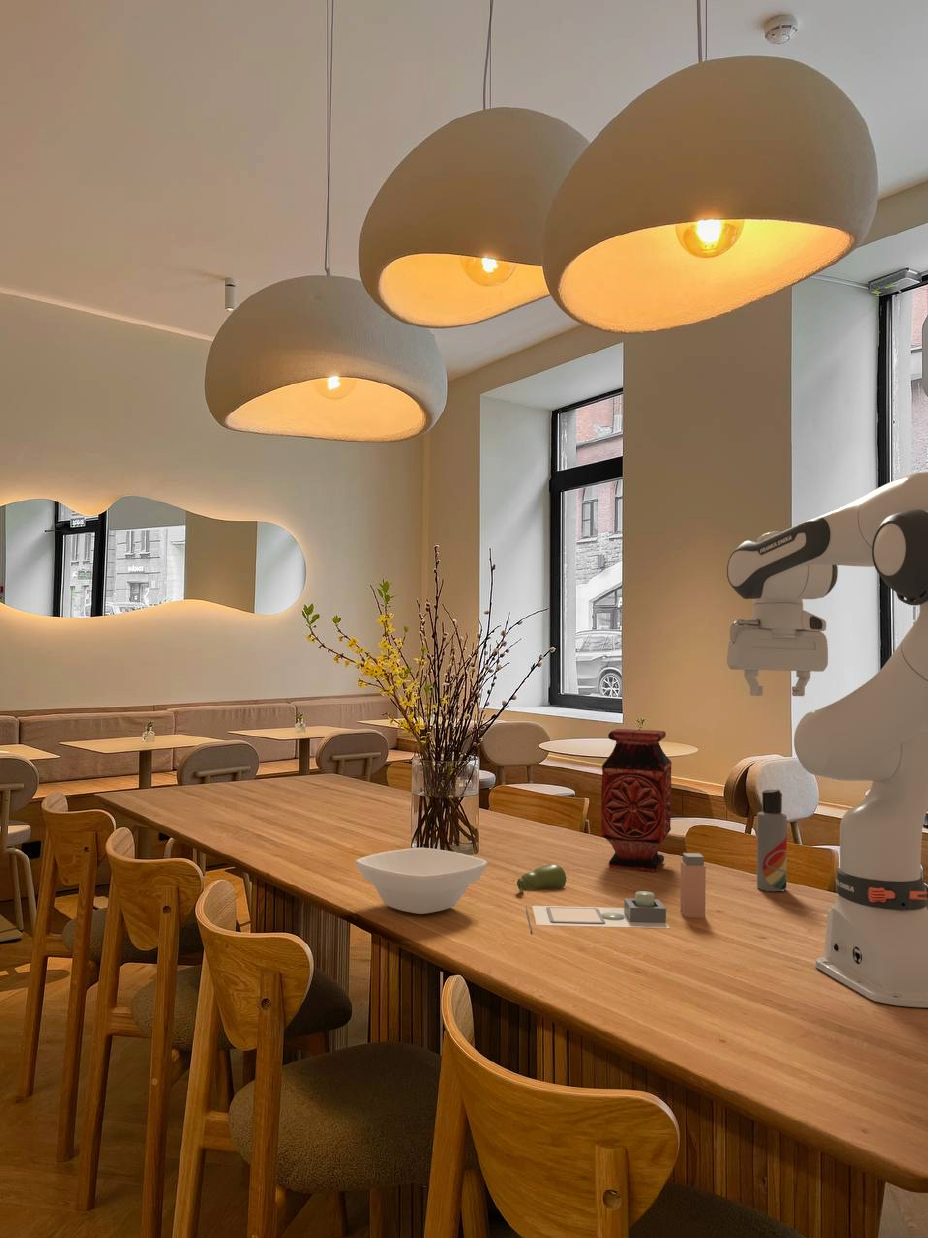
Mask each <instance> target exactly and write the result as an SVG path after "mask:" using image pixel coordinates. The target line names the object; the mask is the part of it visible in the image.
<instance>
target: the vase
mask: <svg viewBox="0 0 928 1238" xmlns="http://www.w3.org/2000/svg"><path fill="white" fill-rule="evenodd" d="M666 735H667V733H666V731H664V730H654V729H653V730H651V729H650V730H649V729H631V728H630V729H628V728H627V729H626V728H616V729H614V730H612V731H610V732H609V733H608V736H607V737H608V739H609V740H611V741H615V745H614V748H613V750H612V752H611V753H610V755H609V756H608V757H607V758H606V760H605V761H604V762H603V764H602V765H601V771H602V774H601V777H602V779H601V788H600V789H601V795H600V796H601V808H600V809H601V823H600V827H601V837H603V838H604V839H606V841H608V843H609V844H610V845H611V846H612V849H613V850H614V854H613V856H612V857H611V858H610V860H609V861H608V866H609V868H611V869H617V870H626V869H628V870H629V871H637V870H638V871H639V872H647V871H649V873H656V872H658V870H659V869H660V867H661V865H663V863H664V861H665V856H664V855H663V854H659V852H658V851H659V849H660V847H661V844H662V843H663V842H664V840H665V839H666V837H667V836H668V834H669V833H670V831H671V830H672V827H671V820H672V819H671V816H672V815H671V812H672V811H671V810H672V761H671V760H670V759H669V757H667V755H666V754H665V752H664V750H663V749H662V748H661V745H660V743H659V742H660V741H661V740H663V739H665V738H666Z"/></svg>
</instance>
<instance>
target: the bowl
mask: <svg viewBox="0 0 928 1238" xmlns="http://www.w3.org/2000/svg"><path fill="white" fill-rule="evenodd" d="M354 863H355V866H356V867H357V869H358V870H359V872H360V873H361V875H362V877H363V879H364V880H365V881H366V882H368V883H369V884H372V885H373V886H374V888H375V889H376V891H377V893H378V895H379V896H380V898H381V899H382V901H383V903H384V904H385V905H386V906H387V907H390V908H393V909H395V910H398V911H401V912H405V913H412V914H419V915H423V914H431V913H436V912H441V911H445V910H448V909H450V908H453V907H455V906H456V905H457V904H458V902H459V901H460V900H461V898H462V896H463V895H464V893H466V891H467V889H468V888H469V886H470V885H473V884H474V883H476V882H478V881H479V879H480V877H481V875H482V874H483V873H484V871H485V869H486V868H487V867H488V865H489V864H488V861H487V860H485V859H482V858H480V857H477V856H472V855H469V854H465V853H460V852H455V851H452V850H451V851H450V850H443V849H439V848H431V847H430V848H428V847H413V848H412V847H410V848H404V849H402V848H401V849H395V850H388V851H383V852H379V853H374V854H373V853H372V854H369V855H366V856H363V857H360V858H358V859H356V860H355V861H354Z"/></svg>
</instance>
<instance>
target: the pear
mask: <svg viewBox="0 0 928 1238" xmlns="http://www.w3.org/2000/svg"><path fill="white" fill-rule="evenodd" d="M566 884H567V874H566V872H565V870H564V869H563V867H562V866H561V865H558V864H555V863H553V864H552V863H550V864H549V863H548V864H545V865H542V866H540V867H537V868H535V869H534V870H532V871H531V872H526V873H525V874H523V875H521V877H520V878H518V879H517V880H516V886H517V887H518V890H519V892H521V894H522V895H524V890H541V889H561V888H563V889H564V888H565V887H566Z"/></svg>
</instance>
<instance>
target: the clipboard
mask: <svg viewBox="0 0 928 1238" xmlns="http://www.w3.org/2000/svg"><path fill="white" fill-rule="evenodd" d="M531 907H532V911H533V915H534V919H535V920H534V921H535V924H536V926H552V927H556V926H557V927H559V926H560V927H589V928H590V927H593V928H595V927H596V928H600V927H601V928H633V929H635V928H640V929H670V926H668V924H667V922H666V923H644V922H630V921H629V919H628V918H627V916H626V915H625V913H624V907H602V906H601V907H599V906H596V907H595V906H563V905H562V906H559V905H558V906H557V905H531ZM525 912H526V916H527V922H528V926H529V930H530V934H531V935H533V934H534V933H533V929H532V925H531V921H530V915H529V910H528V907H527V905H525Z"/></svg>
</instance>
